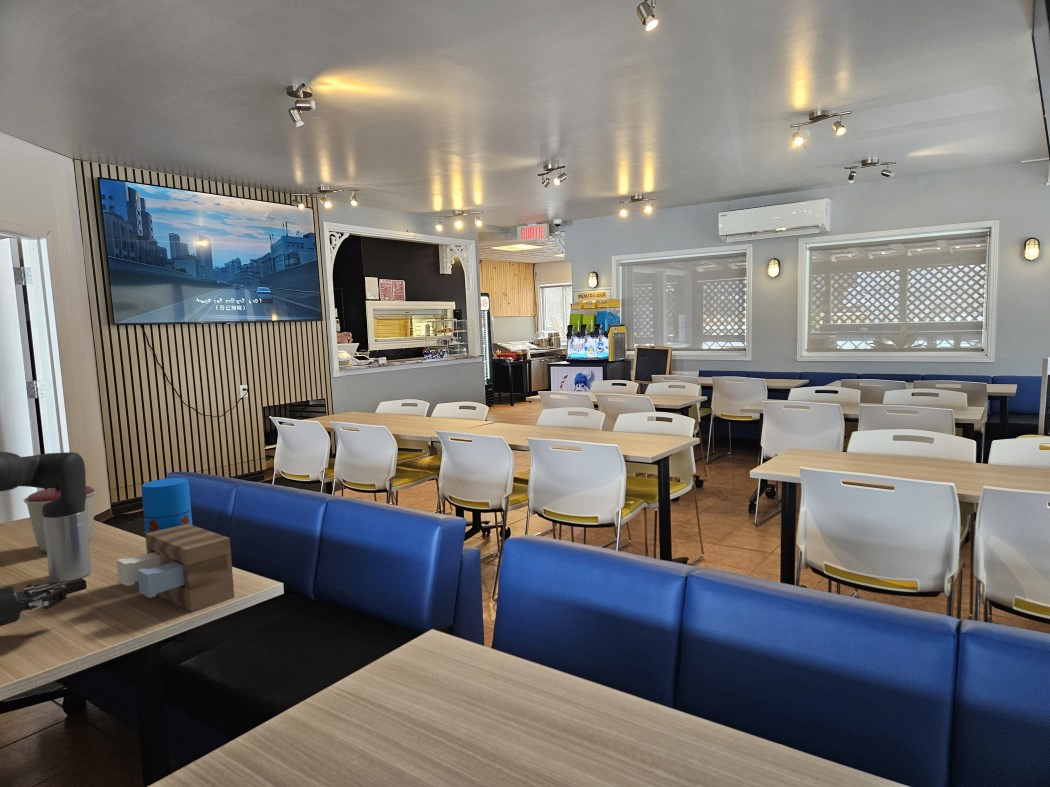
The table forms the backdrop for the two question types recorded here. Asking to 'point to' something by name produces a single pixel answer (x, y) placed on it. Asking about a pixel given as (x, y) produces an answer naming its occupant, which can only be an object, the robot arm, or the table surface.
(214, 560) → the housing
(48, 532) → the robot arm
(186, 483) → the thermos
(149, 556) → the key white
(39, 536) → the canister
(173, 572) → the key blue
